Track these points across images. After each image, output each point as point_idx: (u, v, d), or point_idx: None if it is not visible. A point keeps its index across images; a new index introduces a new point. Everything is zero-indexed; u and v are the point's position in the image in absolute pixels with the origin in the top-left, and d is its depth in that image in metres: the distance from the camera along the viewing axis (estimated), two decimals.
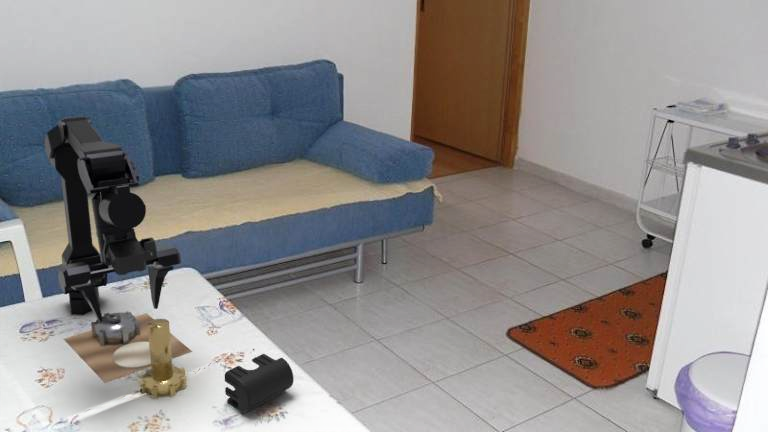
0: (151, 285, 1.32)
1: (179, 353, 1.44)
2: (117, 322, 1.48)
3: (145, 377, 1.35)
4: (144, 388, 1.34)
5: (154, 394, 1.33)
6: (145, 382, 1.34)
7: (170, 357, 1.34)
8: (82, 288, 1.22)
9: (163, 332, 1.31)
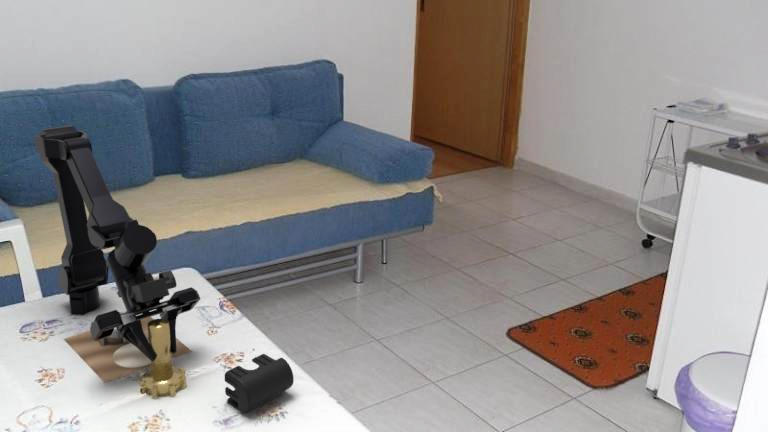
0: None
1: (179, 353, 1.44)
2: None
3: (145, 377, 1.35)
4: (144, 388, 1.34)
5: (154, 394, 1.33)
6: (145, 382, 1.34)
7: (170, 357, 1.34)
8: (130, 324, 1.30)
9: (163, 332, 1.31)
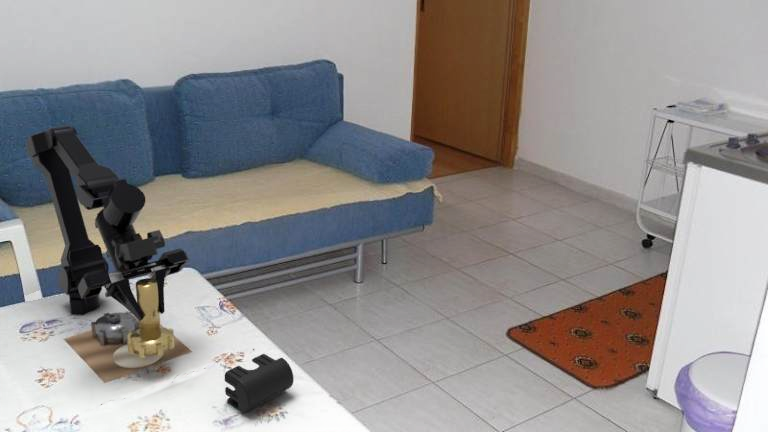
0: None
1: (179, 353, 1.44)
2: (117, 322, 1.48)
3: (133, 337, 1.36)
4: (132, 347, 1.34)
5: (142, 353, 1.33)
6: (133, 341, 1.34)
7: (158, 316, 1.34)
8: (118, 283, 1.30)
9: (151, 291, 1.32)
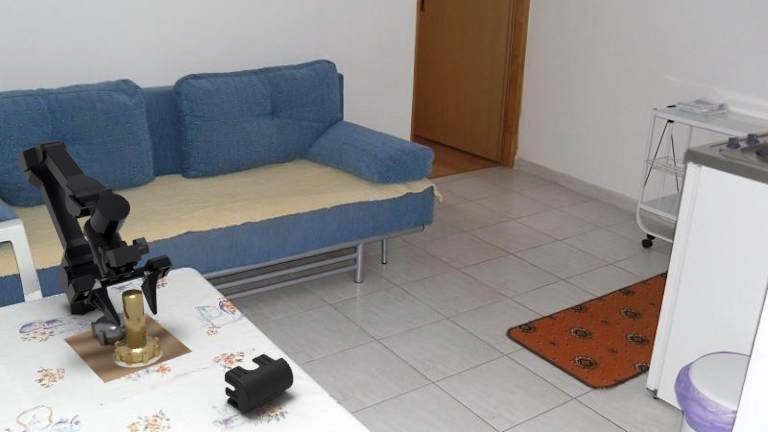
0: (147, 297, 1.43)
1: (179, 353, 1.44)
2: None
3: (120, 345, 1.42)
4: (119, 355, 1.40)
5: (128, 361, 1.39)
6: (120, 350, 1.40)
7: (143, 325, 1.41)
8: (96, 290, 1.35)
9: (137, 301, 1.38)
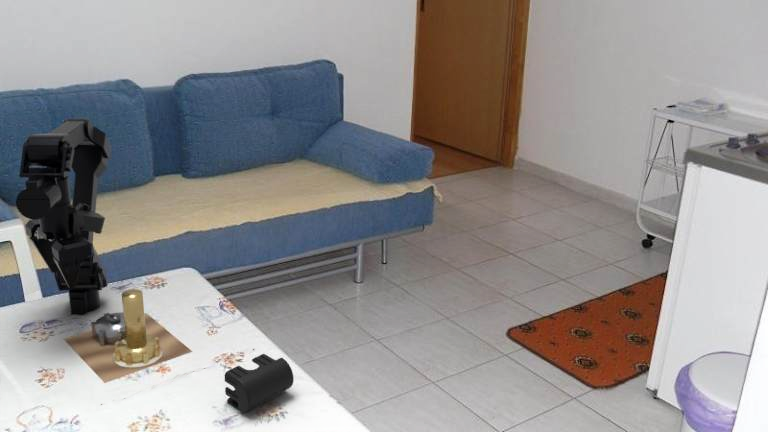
0: (46, 254, 1.48)
1: (179, 353, 1.44)
2: (117, 322, 1.48)
3: (120, 345, 1.42)
4: (119, 355, 1.40)
5: (128, 361, 1.39)
6: (120, 350, 1.40)
7: (143, 325, 1.41)
8: None
9: (137, 301, 1.38)
